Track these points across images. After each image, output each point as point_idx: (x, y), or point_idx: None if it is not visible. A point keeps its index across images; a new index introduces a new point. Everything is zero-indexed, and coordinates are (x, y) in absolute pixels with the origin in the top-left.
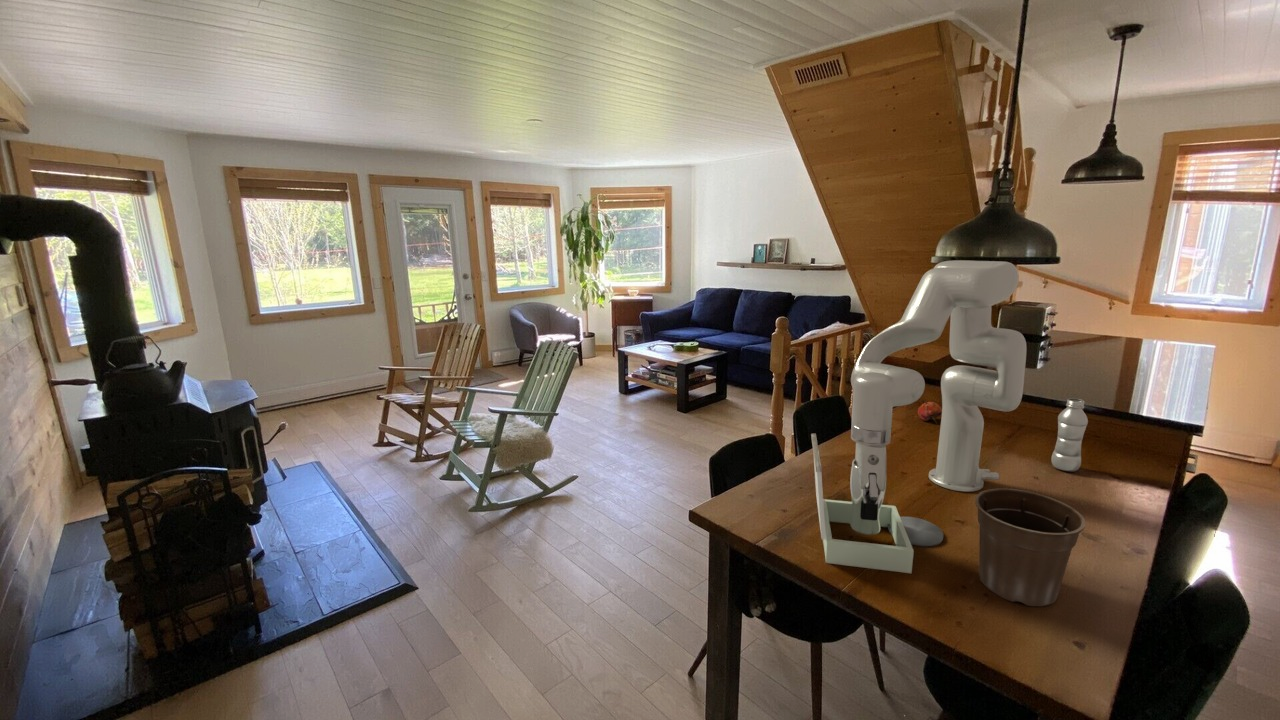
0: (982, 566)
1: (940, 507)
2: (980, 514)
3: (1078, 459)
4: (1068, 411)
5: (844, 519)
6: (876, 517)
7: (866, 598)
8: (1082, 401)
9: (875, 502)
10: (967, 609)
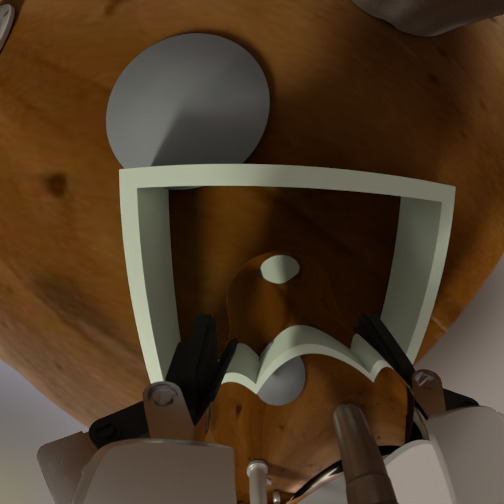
0: (433, 22)
1: (52, 49)
2: None
3: None
4: None
5: (174, 319)
6: (379, 321)
7: (472, 296)
8: None
9: (452, 392)
10: (487, 116)
